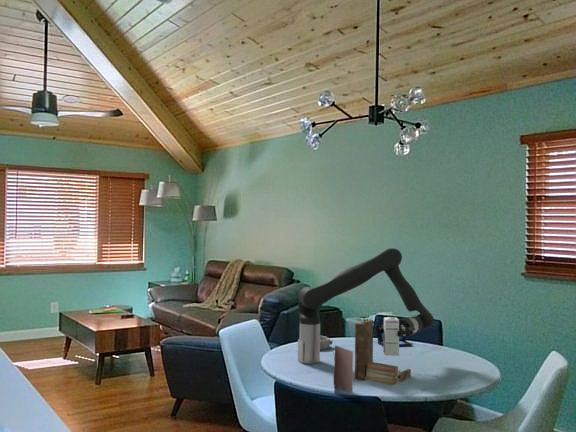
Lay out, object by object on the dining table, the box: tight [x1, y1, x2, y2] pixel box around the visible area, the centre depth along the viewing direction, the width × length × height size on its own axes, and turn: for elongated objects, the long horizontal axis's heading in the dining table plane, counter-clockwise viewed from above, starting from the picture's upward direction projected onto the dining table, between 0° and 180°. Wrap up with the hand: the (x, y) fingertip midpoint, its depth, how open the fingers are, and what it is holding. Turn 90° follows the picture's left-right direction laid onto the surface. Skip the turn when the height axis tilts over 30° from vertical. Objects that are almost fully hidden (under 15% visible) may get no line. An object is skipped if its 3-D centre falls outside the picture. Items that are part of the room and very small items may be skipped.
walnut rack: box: [354, 319, 412, 383], centre depth 218 cm, size 18×16×22 cm
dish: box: [320, 335, 334, 350], centre depth 272 cm, size 14×14×5 cm
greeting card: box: [332, 345, 354, 394], centre depth 202 cm, size 11×7×15 cm, turn 175°
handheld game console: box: [375, 324, 413, 348], centre depth 281 cm, size 16×13×9 cm
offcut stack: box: [365, 361, 401, 386], centre depth 214 cm, size 6×12×6 cm, turn 53°
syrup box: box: [383, 316, 400, 357], centre depth 220 cm, size 6×6×14 cm
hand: (389, 332), depth 218 cm, fingers closed on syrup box, 7 cm apart
